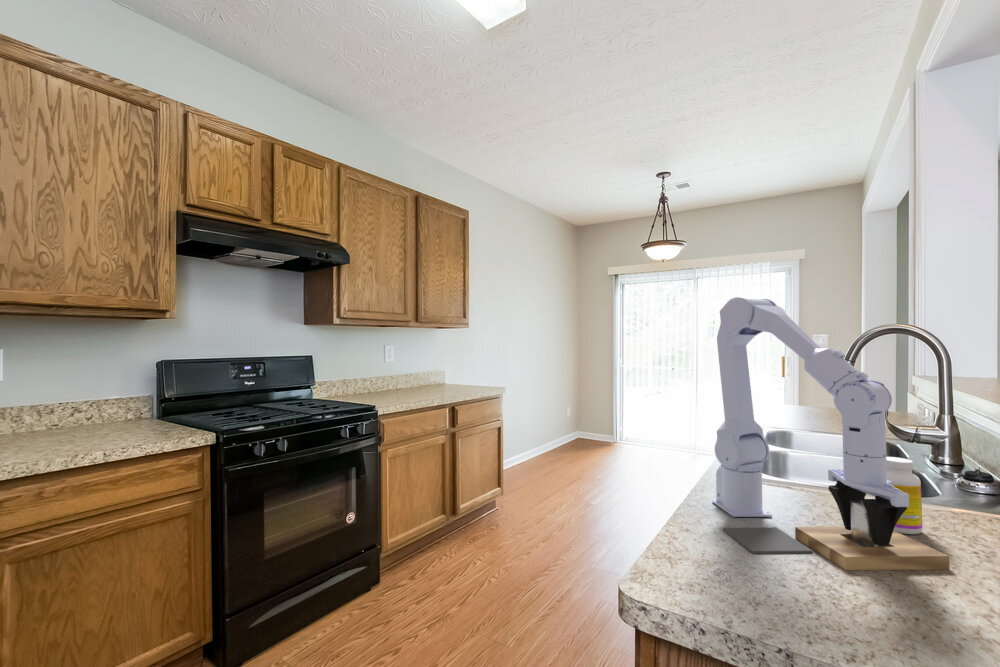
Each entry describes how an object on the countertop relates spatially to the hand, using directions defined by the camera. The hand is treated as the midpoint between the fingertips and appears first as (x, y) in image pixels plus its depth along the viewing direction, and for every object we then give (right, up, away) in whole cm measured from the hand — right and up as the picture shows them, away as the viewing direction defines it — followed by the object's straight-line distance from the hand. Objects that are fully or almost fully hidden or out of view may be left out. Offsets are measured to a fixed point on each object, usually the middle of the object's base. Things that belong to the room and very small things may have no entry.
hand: (866, 536), depth 78 cm
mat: (-14, -3, +5) cm, 15 cm away
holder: (0, -3, 0) cm, 3 cm away
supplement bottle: (+14, -3, +10) cm, 17 cm away
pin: (0, -3, 0) cm, 3 cm away
